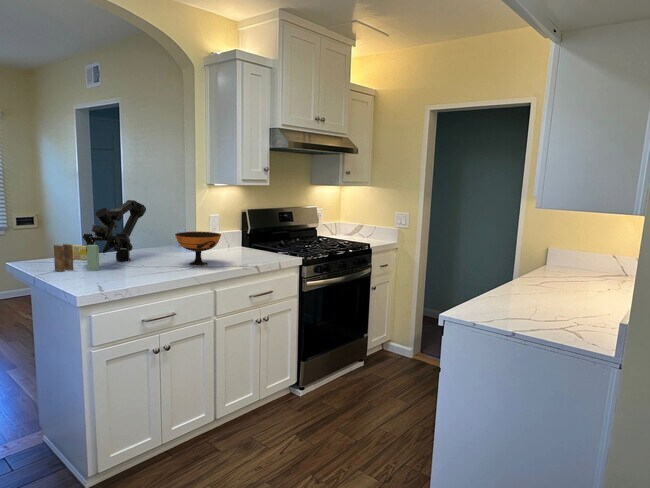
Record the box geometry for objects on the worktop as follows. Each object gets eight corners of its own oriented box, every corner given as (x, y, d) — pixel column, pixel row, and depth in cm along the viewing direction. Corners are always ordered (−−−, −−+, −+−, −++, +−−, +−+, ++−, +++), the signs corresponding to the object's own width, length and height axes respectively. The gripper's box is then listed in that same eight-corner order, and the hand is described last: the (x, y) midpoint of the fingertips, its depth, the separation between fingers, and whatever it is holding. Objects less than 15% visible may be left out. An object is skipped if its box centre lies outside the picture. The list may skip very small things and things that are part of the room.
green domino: (90, 269, 237) (89, 244, 235) (98, 269, 237) (98, 245, 235) (87, 270, 235) (86, 245, 233) (96, 270, 235) (95, 246, 233)
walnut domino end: (58, 269, 233) (57, 244, 231) (64, 271, 231) (63, 245, 229) (54, 270, 231) (53, 245, 230) (60, 271, 229) (59, 246, 227)
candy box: (99, 260, 261) (99, 246, 260) (97, 261, 259) (96, 247, 257) (73, 258, 262) (72, 244, 261) (70, 259, 260) (70, 245, 259)
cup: (165, 260, 268) (165, 231, 266) (206, 257, 284) (206, 229, 281) (188, 272, 240) (188, 239, 238) (232, 268, 256) (232, 237, 253)
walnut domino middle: (67, 268, 237) (66, 243, 235) (73, 269, 235) (72, 244, 233) (63, 268, 235) (62, 244, 234) (69, 270, 233) (68, 245, 231)
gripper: (84, 218, 240) (70, 241, 231) (116, 220, 238) (104, 243, 229) (93, 231, 249) (81, 254, 240) (125, 233, 247) (114, 256, 238)
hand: (95, 252), depth 236 cm, fingers open, 9 cm apart
